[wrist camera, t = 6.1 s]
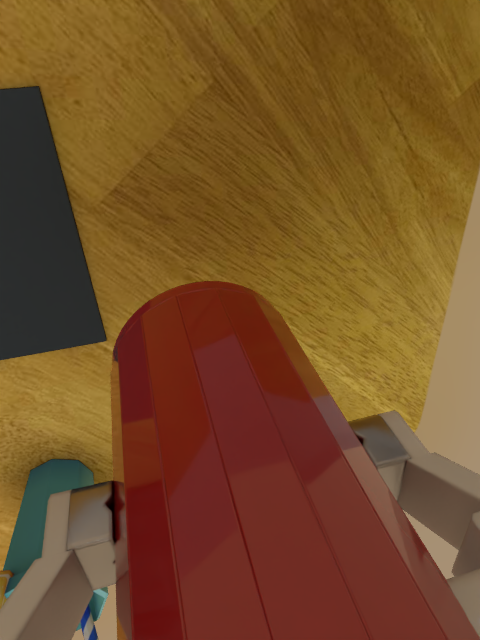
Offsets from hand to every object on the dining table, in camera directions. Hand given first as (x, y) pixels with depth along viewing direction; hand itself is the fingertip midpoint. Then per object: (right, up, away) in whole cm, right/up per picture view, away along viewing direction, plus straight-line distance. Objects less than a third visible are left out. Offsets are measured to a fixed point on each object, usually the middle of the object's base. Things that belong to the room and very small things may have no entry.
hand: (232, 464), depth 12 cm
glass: (-1, +3, +4) cm, 5 cm away
